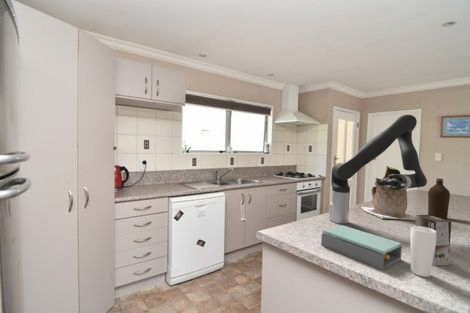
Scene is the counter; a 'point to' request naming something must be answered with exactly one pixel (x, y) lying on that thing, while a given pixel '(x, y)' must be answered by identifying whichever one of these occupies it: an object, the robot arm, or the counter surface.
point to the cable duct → (361, 252)
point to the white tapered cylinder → (422, 250)
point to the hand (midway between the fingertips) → (380, 183)
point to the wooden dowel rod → (378, 252)
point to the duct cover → (363, 239)
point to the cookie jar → (389, 201)
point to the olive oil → (438, 200)
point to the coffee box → (438, 236)
